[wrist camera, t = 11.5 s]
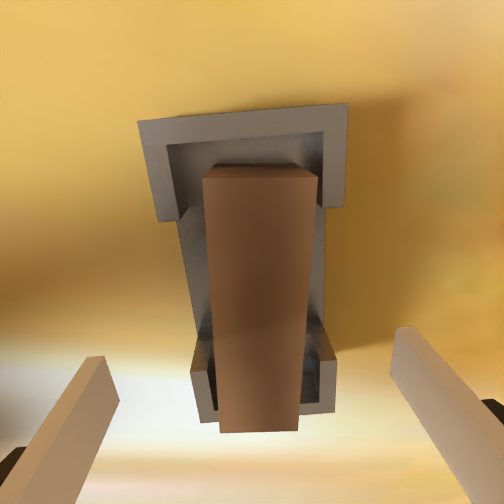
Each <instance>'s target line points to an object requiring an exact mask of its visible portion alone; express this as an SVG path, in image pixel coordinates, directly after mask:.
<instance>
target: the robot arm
mask: <svg viewBox="0 0 504 504" xmlns="http://www.w3.org/2000/svg"><path fill="white" fill-rule="evenodd" d="M390 375H391V377H392V378H393V380H394V381H395V383H396V384H397V386H398V388H399V389H400V391H401V392H402V394H403V395H404V397H405V399H406V400H407V402H408V403H409V405H410V407H411V408H412V410H413V411H414V413H415V414H416V416H417V418H418V419H419V421H420V422H421V424H422V425H423V427H424V429H425V430H426V432H427V433H428V435H429V436H430V438H431V440H432V441H433V443H434V444H435V446H436V447H437V449H438V451H439V452H440V454H441V455H442V457H443V458H444V460H445V462H446V463H447V465H448V466H449V468H450V469H451V471H452V473H453V474H454V476H455V477H456V479H457V481H458V482H459V484H460V485H461V487H462V488H463V490H464V492H465V493H466V495H467V496H468V498H469V499H470V501H471V503H472V504H504V406H503V405H502V404H500V403H499V402H497V401H496V400H494V399H485V400H480V399H479V398H478V397H477V396H476V395H475V393H474V392H473V391H472V390H471V389H470V388H469V387H468V386H467V385H466V384H465V382H464V381H463V380H462V379H461V378H460V377H459V376H458V375H457V374H456V373H455V372H454V370H453V369H452V368H451V367H450V366H449V365H448V364H447V363H446V362H445V361H444V359H443V358H442V357H441V356H440V355H439V354H438V353H437V352H436V351H435V350H434V348H433V347H432V346H431V345H430V344H429V343H428V342H427V341H426V340H425V339H424V338H423V336H422V335H421V334H420V333H419V332H418V331H417V330H416V329H415V328H414V327H413V326H407V327H397V328H396V332H395V340H394V347H393V354H392V362H391V369H390ZM119 401H120V400H119V397H118V394H117V391H116V388H115V385H114V383H113V380H112V377H111V374H110V371H109V368H108V365H107V362H106V360H105V357H104V356H96V357H87V358H86V359H85V361H84V362H83V364H82V365H81V367H80V368H79V370H78V371H77V373H76V374H75V376H74V377H73V379H72V380H71V382H70V383H69V385H68V386H67V388H66V389H65V391H64V392H63V394H62V395H61V397H60V398H59V400H58V401H57V403H56V404H55V406H54V407H53V409H52V410H51V412H50V413H49V415H48V416H47V418H46V419H45V421H44V422H43V424H42V425H41V427H40V428H39V430H38V431H37V433H36V434H35V436H34V437H33V439H32V440H31V442H30V443H29V445H28V446H27V447H17V448H15V449H14V450H13V451H12V452H11V453H10V454H9V455H8V456H7V457H6V458H5V459H4V460H3V461H1V462H0V504H75V502H76V500H77V498H78V496H79V493H80V491H81V489H82V486H83V484H84V482H85V479H86V477H87V475H88V473H89V470H90V468H91V466H92V463H93V461H94V459H95V457H96V454H97V452H98V450H99V447H100V445H101V443H102V440H103V438H104V436H105V434H106V431H107V429H108V427H109V424H110V422H111V420H112V417H113V415H114V413H115V411H116V408H117V406H118V404H119Z"/></svg>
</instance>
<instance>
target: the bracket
mask: <svg viewBox="0 0 504 504" xmlns="http://www.w3.org/2000/svg"><path fill="white" fill-rule="evenodd" d="M137 123H138V128H139V133H140V138H141V142H142V147H143V152H144V157H145V161H146V166H147V171H148V176H149V180H150V185H151V190H152V195H153V199H154V204H155V209H156V214H157V218H158V222H170V221H177V227H178V232H179V238H180V243H181V248H182V254H183V259H184V265H185V270H186V275H187V281H188V286H189V292H190V297H191V302H192V308H193V313H194V319H195V324H196V329H197V335H198V338H197V342H196V347H195V351H194V356H193V360H192V365H191V369H190V375H191V380H192V385H193V389H194V394H195V399H196V404H197V408H198V413H199V418H200V423H210V422H219V412H218V398H217V383H216V369H215V354H214V340H213V326H212V311H211V297H210V282H209V268H208V253H207V239H206V224H205V210H204V196H203V181H202V178H203V177H204V176H205V175H206V173H207V172H208V171H209V170H210V169H211V168H212V167H213V165H214V164H252V163H296V164H297V165H299V166H301V167H302V168H304V169H306V170H307V171H309V172H311V173H312V174H314V175H315V176H317V177H318V184H317V197H316V209H315V222H314V234H313V247H312V259H311V272H310V284H309V296H308V309H307V321H306V334H305V346H304V359H303V371H302V384H301V396H300V409H299V415H309V414H322V413H334V412H335V396H336V373H337V359H336V356H335V354H334V351H333V349H332V347H331V344H330V342H329V339H328V337H327V334H326V332H325V329H324V327H323V307H324V255H325V208H337V207H344V192H345V169H346V146H347V123H348V103H340V104H329V105H327V104H325V105H313V106H301V107H290V108H278V109H266V110H254V111H243V112H231V113H219V114H208V115H196V116H184V117H172V118H161V119H153V120H141V121H137Z"/></svg>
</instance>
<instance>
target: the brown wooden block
mask: <svg viewBox="0 0 504 504" xmlns="http://www.w3.org/2000/svg"><path fill="white" fill-rule="evenodd" d="M202 181H203V196H204V210H205V224H206V239H207V253H208V268H209V282H210V297H211V311H212V326H213V340H214V354H215V369H216V383H217V398H218V412H219V427H220V433H244V432H278V431H298V421H299V409H300V396H301V384H302V371H303V359H304V346H305V334H306V321H307V309H308V296H309V284H310V272H311V259H312V247H313V234H314V222H315V209H316V197H317V184H318V177H317V176H315V175H314V174H312V173H311V172H309V171H307V170H306V169H304V168H302V167H301V166H299V165H297V164H296V163H252V164H214V165H213V167H212V168H211V169H210V170H209V171H208V172H207V173H206V175H205V176H204V177H203V178H202Z"/></svg>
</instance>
